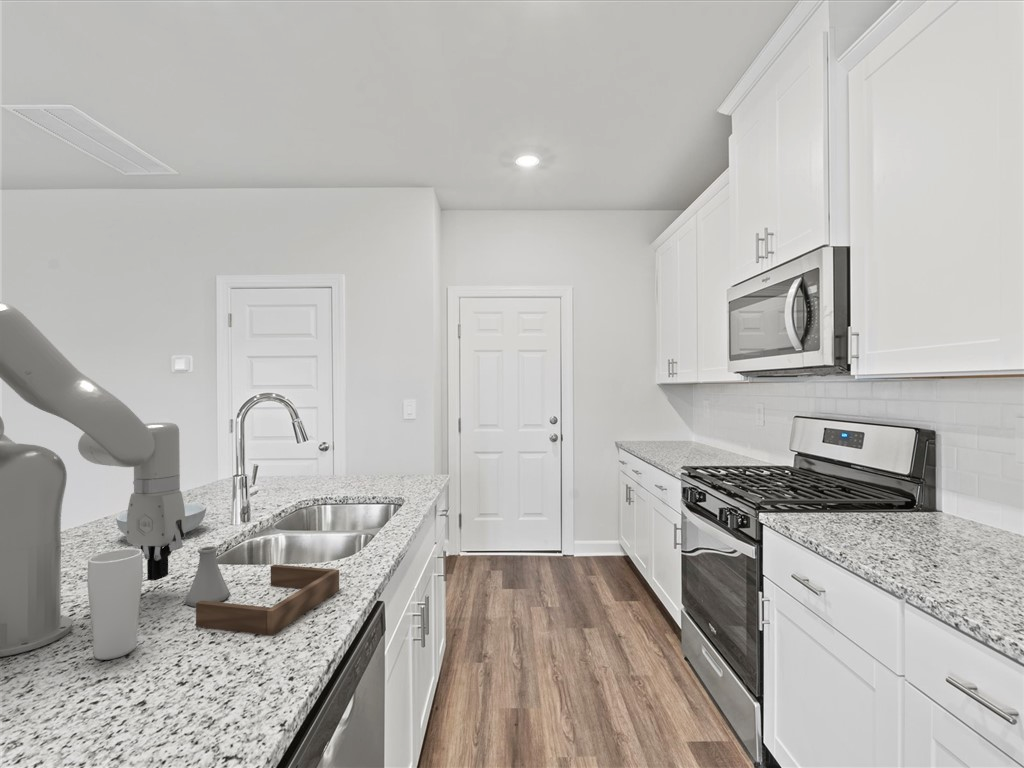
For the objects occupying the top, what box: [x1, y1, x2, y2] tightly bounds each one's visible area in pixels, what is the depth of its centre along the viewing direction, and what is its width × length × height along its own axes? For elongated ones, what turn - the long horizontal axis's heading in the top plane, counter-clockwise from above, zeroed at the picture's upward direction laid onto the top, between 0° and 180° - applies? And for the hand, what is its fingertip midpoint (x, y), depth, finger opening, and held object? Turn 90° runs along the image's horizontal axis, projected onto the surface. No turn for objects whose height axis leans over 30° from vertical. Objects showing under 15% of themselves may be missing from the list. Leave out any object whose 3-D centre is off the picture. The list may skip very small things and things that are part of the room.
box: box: [195, 564, 340, 636], centre depth 97 cm, size 20×15×4 cm
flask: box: [184, 545, 231, 608], centre depth 100 cm, size 7×7×10 cm
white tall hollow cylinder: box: [86, 548, 144, 661], centre depth 80 cm, size 7×7×15 cm
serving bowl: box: [115, 502, 207, 536], centre depth 145 cm, size 21×21×7 cm
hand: (158, 577), depth 103 cm, fingers closed
